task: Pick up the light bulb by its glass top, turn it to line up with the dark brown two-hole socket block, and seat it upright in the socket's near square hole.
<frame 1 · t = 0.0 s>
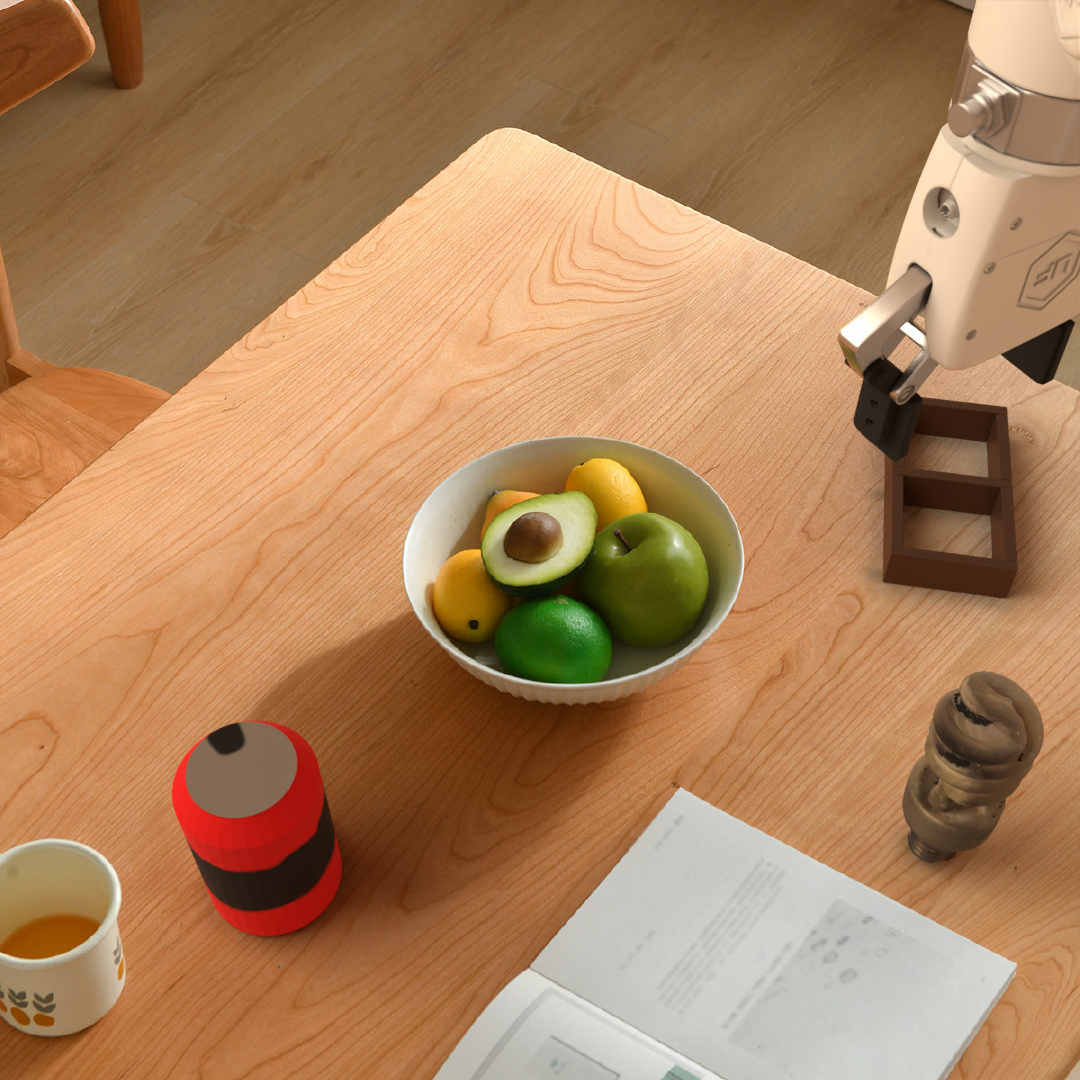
hand: (953, 403, 67), 25 cm above the table, tool pointing down, fingers open, 9 cm apart
socket block: (942, 505, 96), on the table
light bulb: (931, 849, 79), on the table
soda can: (277, 878, 78), on the table
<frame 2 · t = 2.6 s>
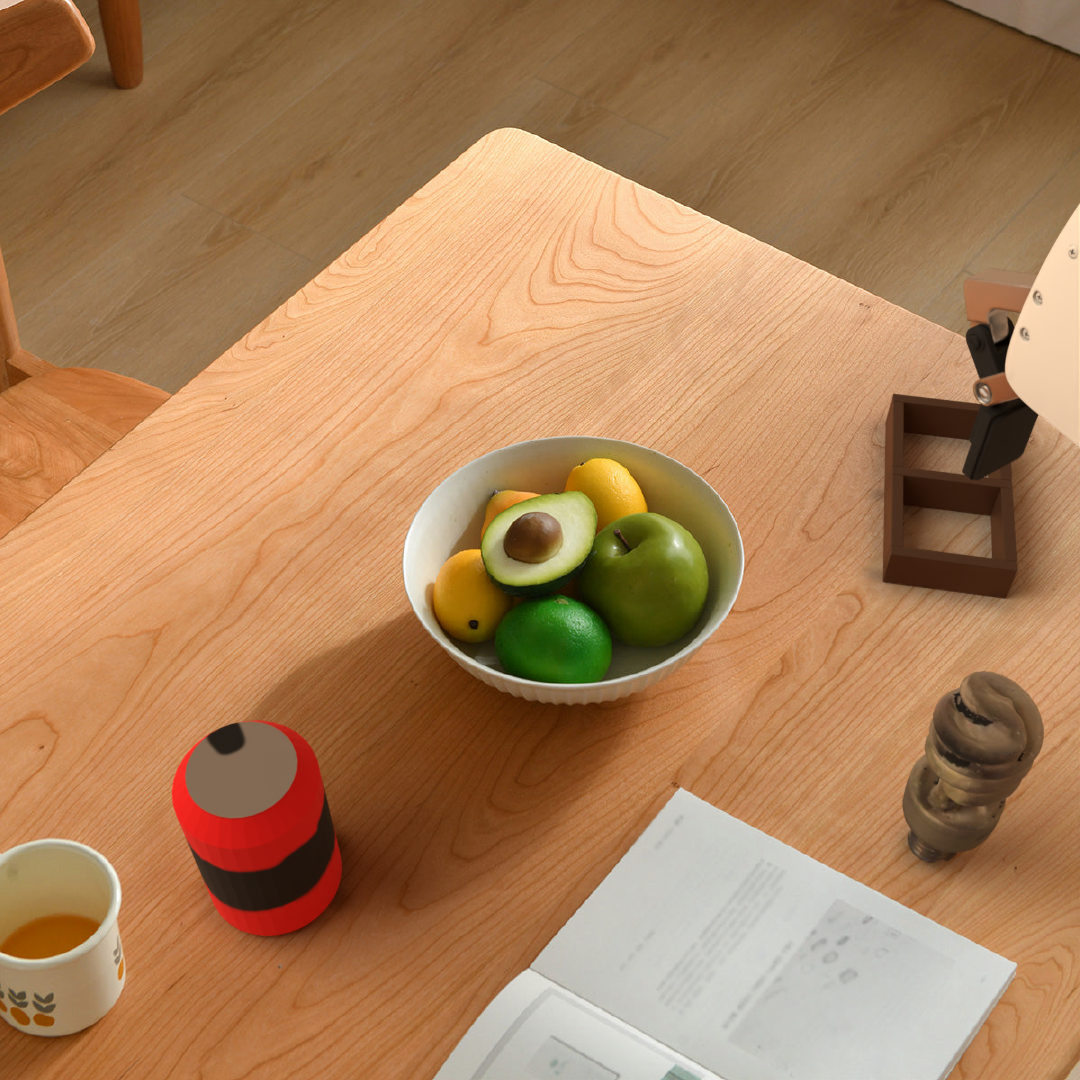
hand: (1073, 534, 58), 28 cm above the table, tool pointing down, fingers open, 9 cm apart
nothing on the table moved.
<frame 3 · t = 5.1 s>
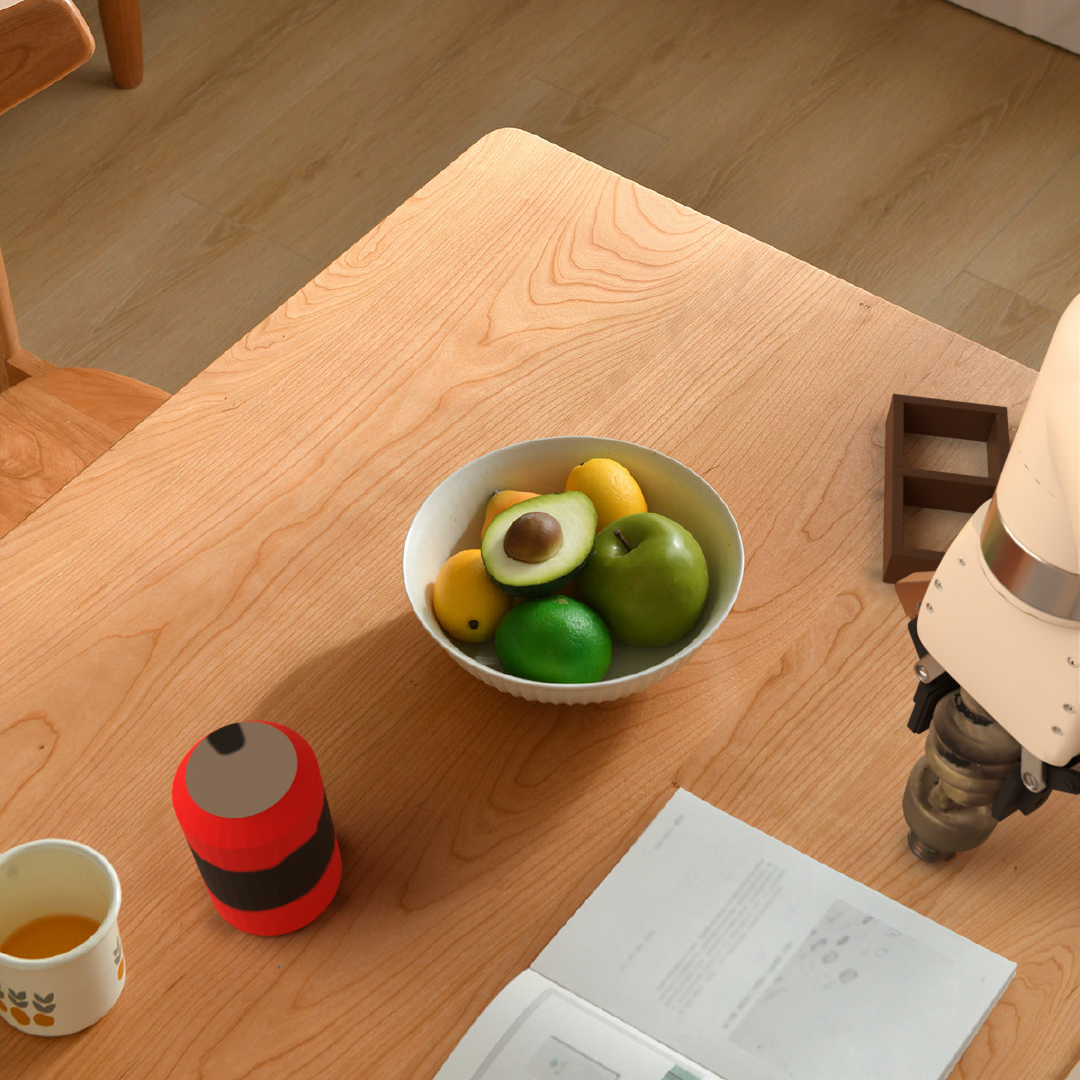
hand: (973, 759, 72), 10 cm above the table, tool pointing down, fingers closed on light bulb, 5 cm apart
light bulb: (931, 849, 79), on the table, touching gripper
everything else where it was.
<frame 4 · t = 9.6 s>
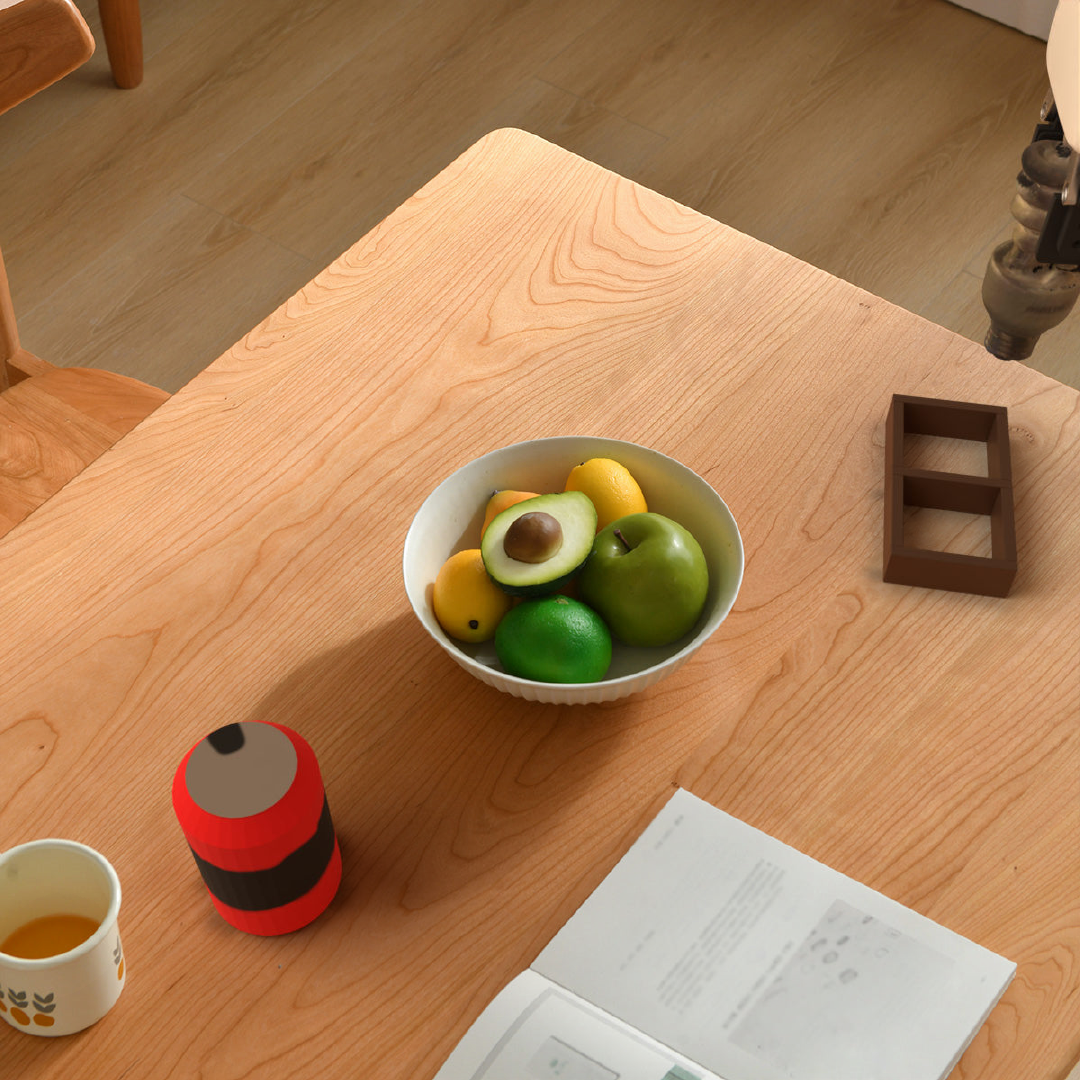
hand: (1056, 222, 73), 27 cm above the table, tool pointing down, fingers closed on light bulb, 5 cm apart
light bulb: (1008, 361, 81), point 17 cm above the table, touching gripper
everything else where it was.
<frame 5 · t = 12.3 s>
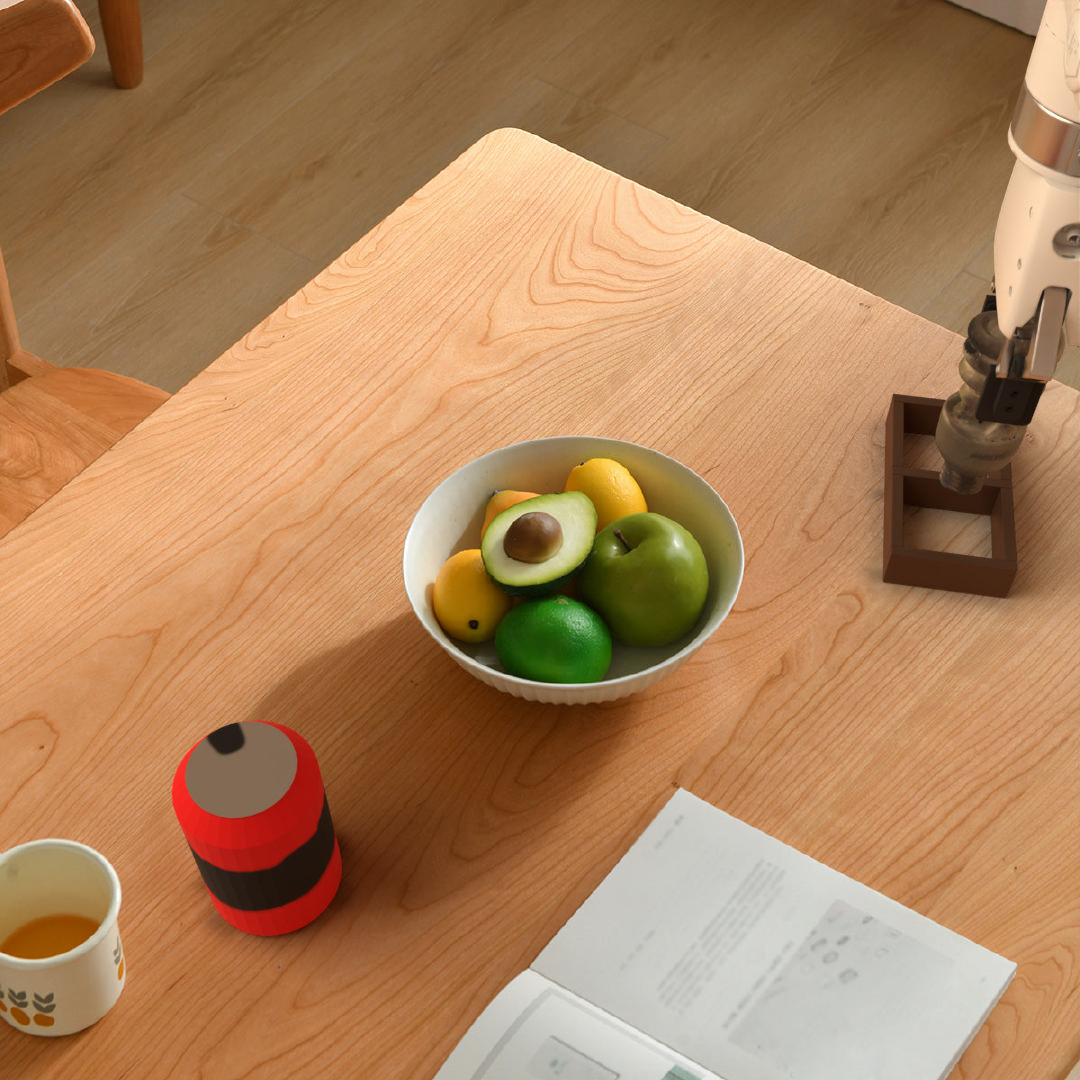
hand: (999, 382, 82), 15 cm above the table, tool pointing down, fingers closed on light bulb, 5 cm apart
light bulb: (961, 493, 90), point 5 cm above the table, touching gripper
everything else where it was.
when the fingers open (10 cm above the table, at t = 14.1 s): light bulb stays where it is, resting in socket block.
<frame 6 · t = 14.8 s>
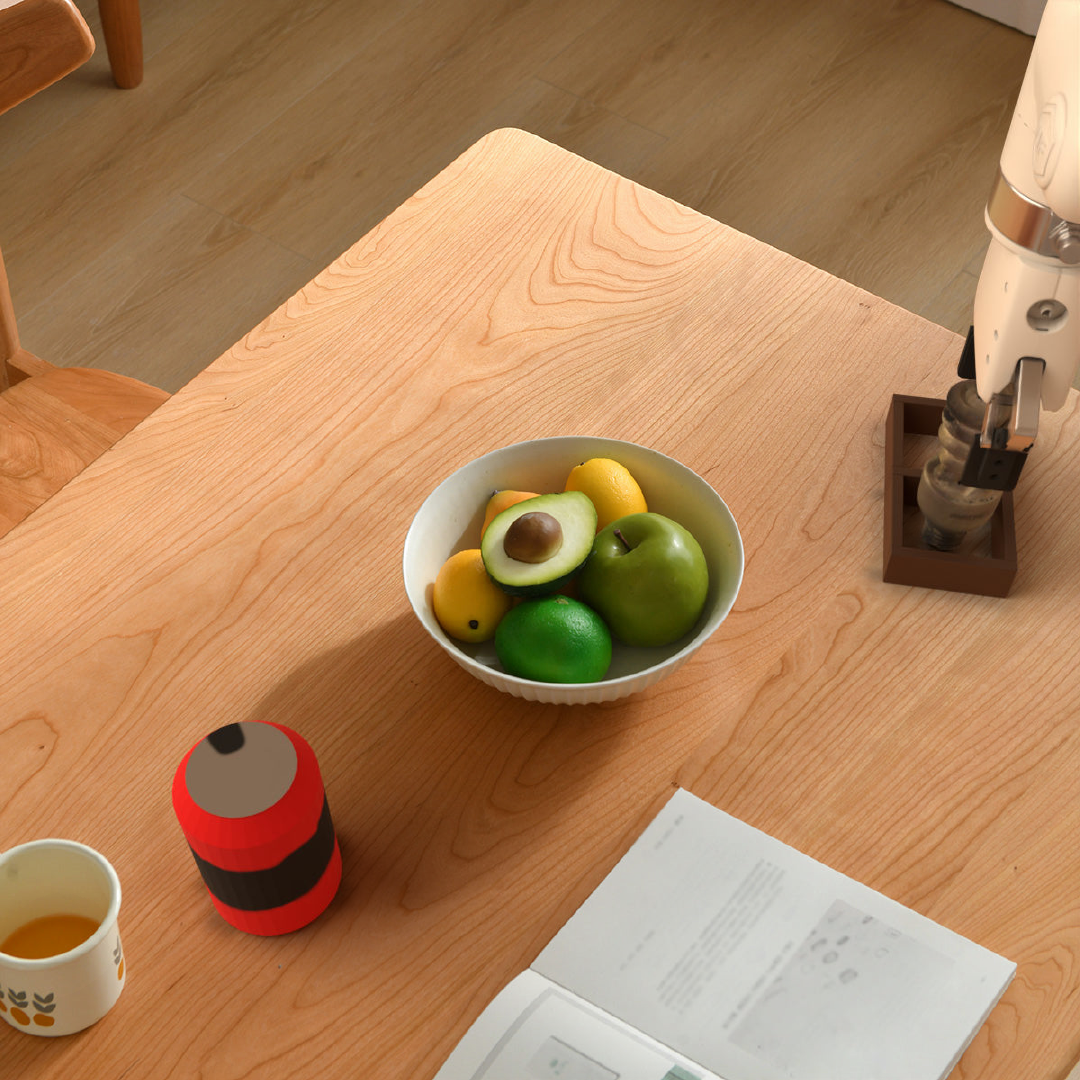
hand: (983, 429, 85), 11 cm above the table, tool pointing down, fingers open, 9 cm apart
light bulb: (942, 547, 94), resting in socket block
everything else where it was.
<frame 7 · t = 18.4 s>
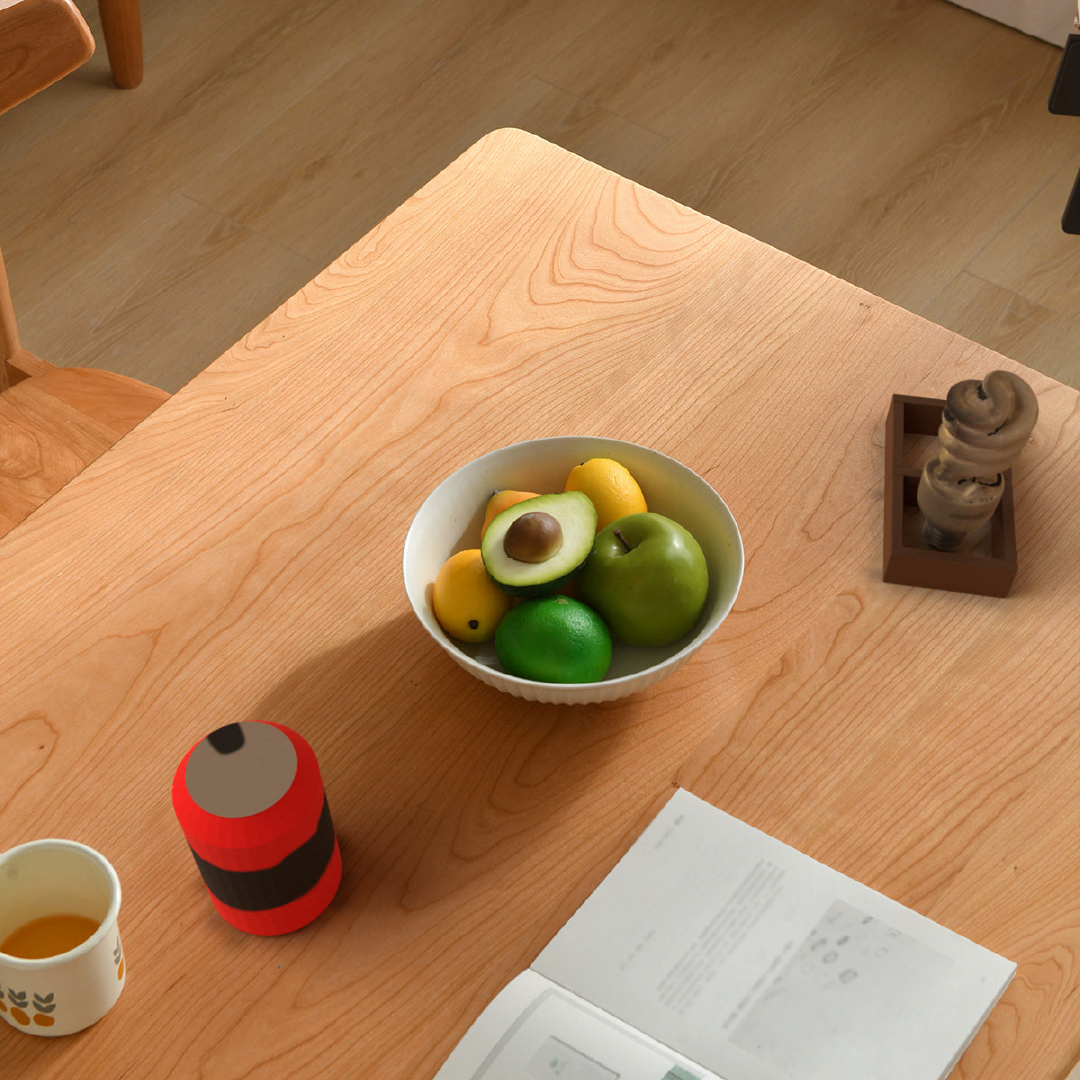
nothing on the table moved.
at the end: light bulb 0.1 cm from the target spot in the socket block, point 0.0 cm above the socket block's base; light bulb tilted 0°; the gripper is holding nothing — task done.
